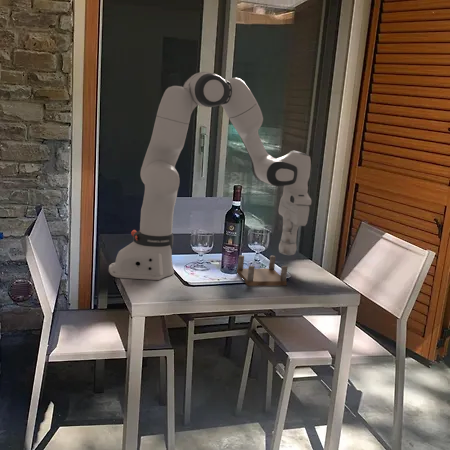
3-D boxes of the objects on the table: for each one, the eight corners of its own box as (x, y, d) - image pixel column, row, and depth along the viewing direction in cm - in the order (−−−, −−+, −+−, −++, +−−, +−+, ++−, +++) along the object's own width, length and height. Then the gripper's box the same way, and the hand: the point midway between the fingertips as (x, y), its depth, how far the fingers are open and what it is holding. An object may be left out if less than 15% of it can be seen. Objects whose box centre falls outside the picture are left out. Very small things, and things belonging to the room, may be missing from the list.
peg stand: (247, 285, 195) (249, 267, 193) (236, 272, 208) (238, 255, 206) (286, 285, 199) (288, 267, 197) (272, 272, 212) (274, 255, 210)
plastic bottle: (294, 258, 212) (302, 205, 208) (276, 255, 213) (284, 202, 209) (296, 254, 218) (303, 202, 214) (278, 251, 220) (285, 199, 215)
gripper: (277, 189, 220) (272, 224, 223) (297, 200, 201) (292, 238, 204) (292, 190, 222) (287, 225, 225) (313, 201, 202) (308, 239, 205)
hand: (289, 231), depth 214 cm, fingers closed on plastic bottle, 6 cm apart
